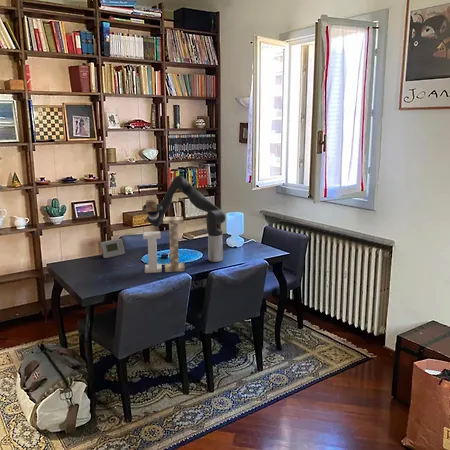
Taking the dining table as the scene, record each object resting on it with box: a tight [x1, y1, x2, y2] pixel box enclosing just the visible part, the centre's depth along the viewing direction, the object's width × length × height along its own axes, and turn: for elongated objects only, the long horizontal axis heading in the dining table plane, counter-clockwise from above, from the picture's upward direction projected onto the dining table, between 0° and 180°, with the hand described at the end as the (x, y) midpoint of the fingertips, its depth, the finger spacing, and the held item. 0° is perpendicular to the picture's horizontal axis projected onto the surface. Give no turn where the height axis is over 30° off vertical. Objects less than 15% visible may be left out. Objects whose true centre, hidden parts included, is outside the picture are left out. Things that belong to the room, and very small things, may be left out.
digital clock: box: [99, 238, 126, 259], centre depth 314 cm, size 16×9×11 cm, turn 121°
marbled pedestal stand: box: [162, 216, 186, 273], centre depth 283 cm, size 12×10×32 cm
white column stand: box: [142, 231, 163, 274], centre depth 282 cm, size 10×10×23 cm
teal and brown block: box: [145, 199, 157, 212], centre depth 290 cm, size 6×20×6 cm, turn 7°
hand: (151, 203), depth 291 cm, fingers closed on teal and brown block, 2 cm apart
